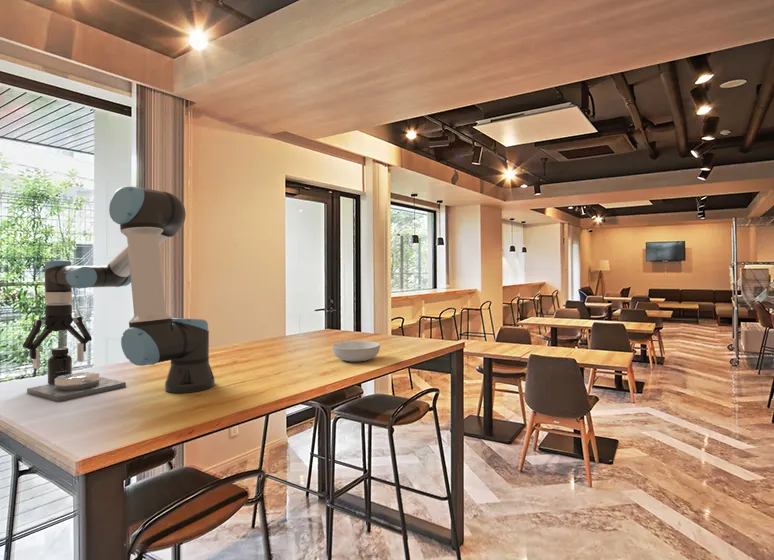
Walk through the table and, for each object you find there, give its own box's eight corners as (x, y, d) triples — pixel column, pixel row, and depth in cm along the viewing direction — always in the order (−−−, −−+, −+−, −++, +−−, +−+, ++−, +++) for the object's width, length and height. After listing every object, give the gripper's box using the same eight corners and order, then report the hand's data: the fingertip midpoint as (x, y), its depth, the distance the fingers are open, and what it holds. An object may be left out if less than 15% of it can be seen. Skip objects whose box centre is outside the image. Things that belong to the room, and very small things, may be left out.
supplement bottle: (59, 385, 152) (58, 350, 152) (42, 384, 153) (42, 350, 153) (77, 380, 159) (76, 347, 158) (61, 380, 160) (60, 346, 160)
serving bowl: (322, 361, 191) (321, 345, 191) (352, 354, 208) (352, 339, 208) (360, 367, 179) (360, 350, 179) (389, 358, 196) (389, 343, 196)
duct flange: (125, 386, 150) (125, 373, 150) (58, 401, 132) (57, 386, 132) (93, 379, 160) (93, 367, 160) (27, 393, 142) (26, 379, 142)
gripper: (91, 301, 168) (91, 357, 169) (9, 306, 146) (10, 370, 147) (102, 302, 164) (102, 359, 165) (20, 307, 143) (21, 372, 143)
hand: (59, 364), depth 156 cm, fingers open, 13 cm apart
